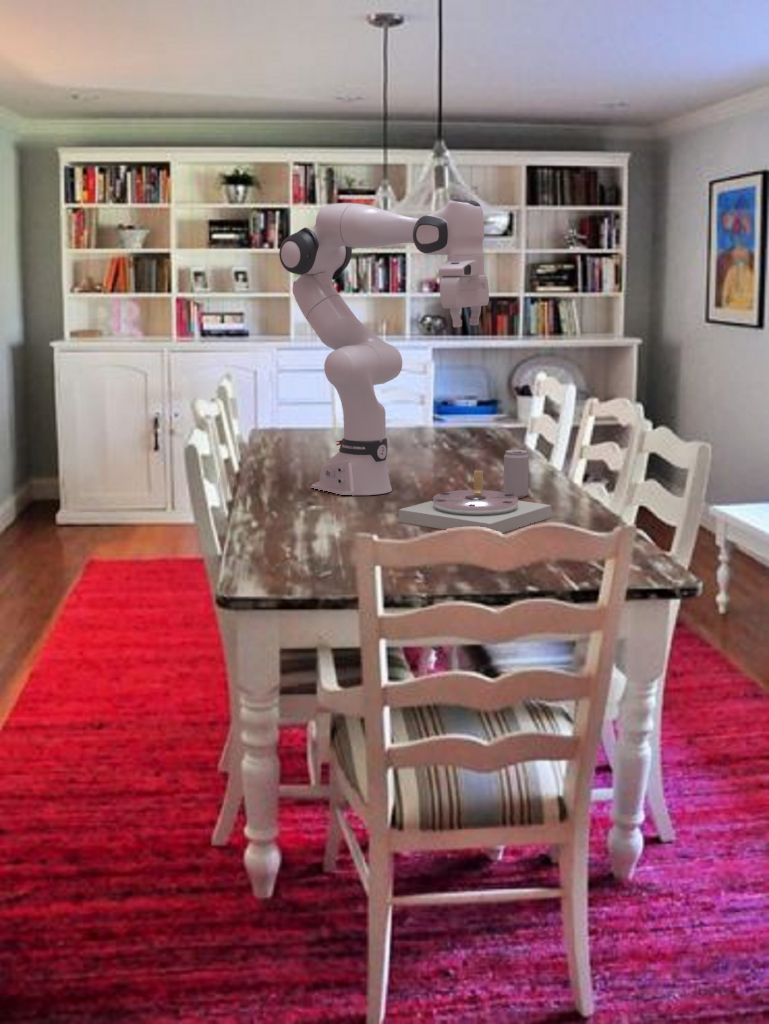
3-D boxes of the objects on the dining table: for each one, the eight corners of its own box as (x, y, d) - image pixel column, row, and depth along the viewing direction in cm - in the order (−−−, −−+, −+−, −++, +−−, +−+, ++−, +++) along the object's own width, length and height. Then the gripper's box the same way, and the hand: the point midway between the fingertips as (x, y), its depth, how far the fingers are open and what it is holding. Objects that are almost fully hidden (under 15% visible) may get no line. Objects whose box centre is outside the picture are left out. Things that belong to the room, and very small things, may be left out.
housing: (398, 522, 286) (398, 508, 285) (462, 504, 305) (462, 491, 305) (490, 537, 270) (490, 522, 269) (551, 517, 289) (551, 504, 289)
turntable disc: (416, 507, 285) (416, 478, 284) (465, 494, 301) (465, 467, 299) (486, 518, 273) (487, 488, 272) (534, 504, 288) (534, 475, 287)
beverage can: (508, 499, 311) (509, 453, 309) (499, 494, 317) (500, 449, 315) (531, 497, 313) (532, 452, 310) (522, 493, 319) (523, 448, 317)
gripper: (472, 267, 301) (472, 323, 304) (435, 268, 284) (435, 328, 287) (495, 267, 298) (495, 324, 301) (459, 268, 281) (459, 328, 284)
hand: (465, 326), depth 294 cm, fingers open, 8 cm apart
